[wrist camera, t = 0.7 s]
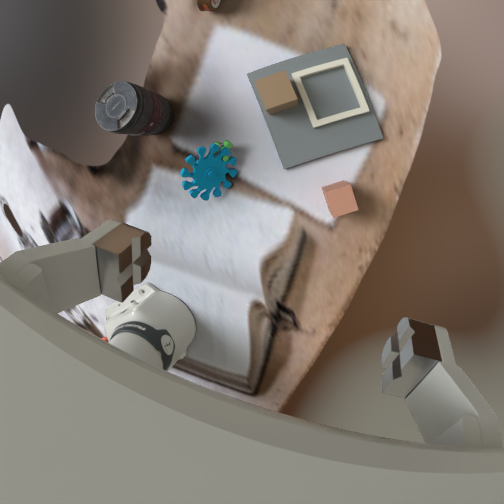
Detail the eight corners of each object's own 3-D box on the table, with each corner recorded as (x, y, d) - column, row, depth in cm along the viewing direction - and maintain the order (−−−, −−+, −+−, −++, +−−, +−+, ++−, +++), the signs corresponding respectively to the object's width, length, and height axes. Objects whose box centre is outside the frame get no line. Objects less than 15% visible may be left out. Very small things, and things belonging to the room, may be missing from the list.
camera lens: (186, 112, 52) (148, 99, 37) (158, 145, 54) (114, 144, 40) (158, 87, 51) (116, 70, 37) (131, 119, 53) (84, 112, 39)
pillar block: (328, 209, 53) (333, 218, 45) (321, 187, 52) (325, 192, 44) (350, 202, 52) (358, 210, 44) (343, 180, 51) (350, 184, 44)
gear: (214, 210, 54) (170, 185, 47) (201, 195, 58) (160, 171, 51) (253, 161, 52) (214, 129, 45) (237, 149, 56) (200, 120, 49)
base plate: (284, 169, 52) (281, 170, 45) (247, 75, 48) (240, 64, 41) (381, 138, 48) (393, 136, 41) (343, 45, 44) (349, 31, 37)
